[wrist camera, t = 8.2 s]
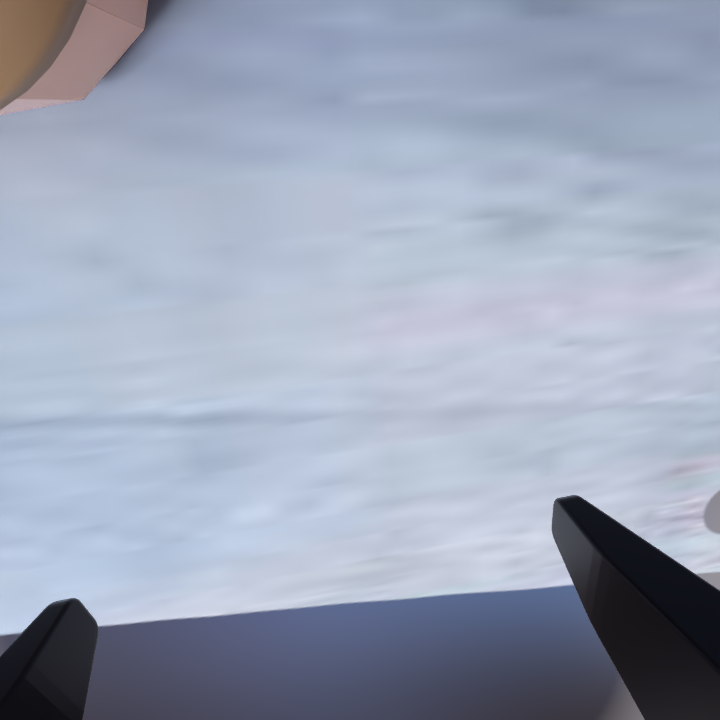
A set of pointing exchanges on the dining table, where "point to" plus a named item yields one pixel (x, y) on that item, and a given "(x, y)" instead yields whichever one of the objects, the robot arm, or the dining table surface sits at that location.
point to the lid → (32, 41)
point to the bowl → (86, 53)
